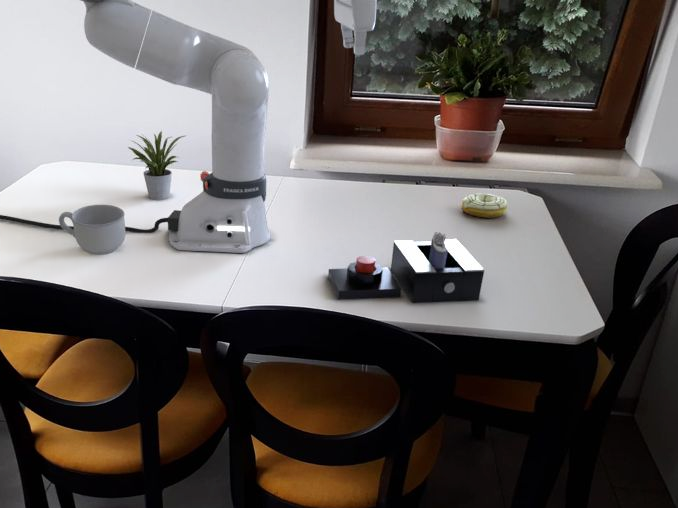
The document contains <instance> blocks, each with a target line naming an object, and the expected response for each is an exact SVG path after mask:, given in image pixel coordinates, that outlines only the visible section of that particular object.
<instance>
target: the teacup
mask: <svg viewBox="0 0 678 508" xmlns="http://www.w3.org/2000/svg"><path fill="white" fill-rule="evenodd" d="M125 215H126V213H125V211H124V210H123V209H122V208H120V207H119V206H116V205H111V204H91V205H86V206H83V207H80V208H78V209H76V210H75V211H73V212H70V211H64V212H62V213H61V214H60V215H59V217H58V223H59V224H58V225H60V226H61V227H62V229H64V230H63V231H65V232H66V233H68V234H69V235H71V236H73V238H74V239H75V242H76V243H77V245H78V246H79V247H80V248H81V249H82V250H85V251H86V252H87V253H90V254H92V255H106V254H110V253H113V252H115V251H116V250H117V249H119V248H120V247H121V246H122V245H123V244H124V242H125V239H126V231H125V227H126V223H125V222H126V220H125ZM65 218H67V219H70V221H71V223H72V225H73V227H74V230H73V229H71V228H70V227H69V226H70V225H68V224H67V223H66V222H65Z"/></svg>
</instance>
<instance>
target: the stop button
mask: <svg viewBox="0 0 678 508" xmlns="http://www.w3.org/2000/svg"><path fill="white" fill-rule="evenodd" d="M355 262H356V270H357V271H359V272H364V273H371V272H374V270H375V263H376V259H375V258H374V257H372V256H369V255H361V256H357V258H356V259H355Z"/></svg>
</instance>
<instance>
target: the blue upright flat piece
mask: <svg viewBox="0 0 678 508" xmlns="http://www.w3.org/2000/svg"><path fill="white" fill-rule="evenodd" d="M446 238H447V236H446V233H444V234H443V233H442V232H438V231H435V232H434V234H433V235H432V239H431V241H432V242H431V250H430V256H429V263H430V264H431V265H432V266H433V268H434V269H435V268H445V263H446V258H447V252H448V250H447V248H446V246H445V239H446Z"/></svg>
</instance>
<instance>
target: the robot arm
mask: <svg viewBox="0 0 678 508" xmlns="http://www.w3.org/2000/svg"><path fill="white" fill-rule="evenodd" d="M80 1H81V2H83V4H84V5H85V15H84V20H83V29H84V31H83V32H84V35H85V38H86V40H87V42H88V43H89V45H90V46H92V47H93V48H94V49H96V50H98V51H99V52H101V53H102V54H104V55H106V56H108V57H109V58H110V59H113V60H115V61H117V62H119V63H121V64H123V65H125V66H128V67H130V68H131V69H135V70H137V71H139V72H142V73H144V74H147V75H149V76H152V77H154V78H157V79H159V80H162V81H164V82H166V83H169V84H171V85H175V86H181V87H185V88H189V89H192V90H195V91H199V92H203V93H205V94H209V95H211V135H210V136H211V137H210V138H211V172H210V173H209V172H208V171H206V170H204V171H201V173H200V174H199V176H200V181H201V182H202V191H201V192H200V193H199V194H196V195H195V196H194V198H192V199H191V200H189V201H188V202H186V203H185V204H184V205H183V206H182V208H181V210H179V209H178V210H177V209H174V210H173V211H172V212H171V214H169V216H167V217H162V218H159V219H157V220H156V221H155V222H154V226H153V227H151V228H149V229H142V228H137V227H136V228H135V227H131V226H125V232H130V233H138V234H152V233H155V232H157V231H158V230H159V228H160V225H161V224H163V223H167V230H168V231H169V233H168V241H169V244H170V246H171V247H173V248H174V249H175V250H178V251H190V252H191V251H193V252H213V253H214V252H215V253H233V254H234V253H236V254H245V253H247V252H249V251H251V250H252V249H253V248H257V247H260V246H263V245H265V244H266V243H268V242H269V241H270V239H271V232H270V229H269V225H268V220H267V213H266V212H267V211H266V203H265V202H266V199H267V176H266V173H265V143H266V141H265V139H266V130H267V129H266V128H267V127H266V126H267V120H268V119H267V118H268V107H269V106H268V105H269V90H270V89H269V88H270V83H269V82H270V80H269V76H268V73H267V70H266V68H265V66H264V65H263V63H262V62H261V61H260V59H259V58H258V57H257V55H256V54H255V53H254V52H253V51H252V50H251V49H250V48H248V47H246V46H244V45H241V44H239V43H236V42H234V41H231V40H228V39H226V38H223V37H221V36H218V35H215V34H214V33H213V34H212V33H209V32H207V31H204V30H201V29H199V28H195V27H193V26H191V25H188V24H186V23H183V22H181V21H179V20H176V19H174V18H171V17H169V16H168V15H164V14H162V13H160V12H157V11H156V10H152V9H151V8H147V7H145V6H144V5H140V4H138V3H137V2H135V1H132V0H80ZM377 1H378V0H333V15H334V19H335V21H336V22H338V23H339V24H340V29H341V30H340V31H341V34H342V40H343V42H342V43H343V44H342V45H343V47H344V48H345V49H353V54H354V55H356V56H363V55H364V54H365V46H366V40H367V32H371V31H374V28H375V25H376V18H377V17H376V16H377ZM353 36H354V37H353ZM0 220H3V221H10V222H14V223H19V224H24V225H29V226H35V227H40V228H45V229H52V230H60V231H65V230H64V229H62V227H61V226H60V224H52V223H47V222H40V221H35V220H30V219H25V218H20V217H15V216H10V215H3V214H0ZM68 226H69V227H70V228H71V229H73V230H74V227H73V226H72V225H68Z"/></svg>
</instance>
